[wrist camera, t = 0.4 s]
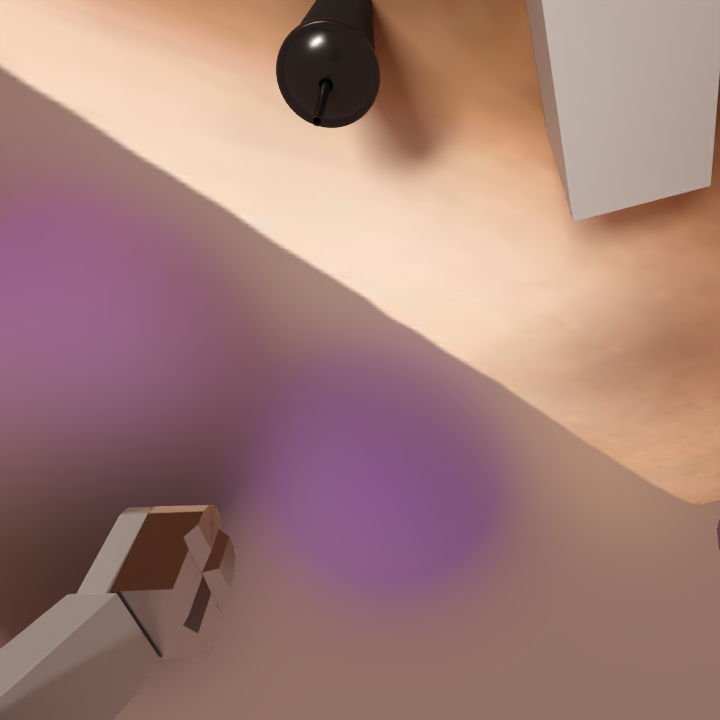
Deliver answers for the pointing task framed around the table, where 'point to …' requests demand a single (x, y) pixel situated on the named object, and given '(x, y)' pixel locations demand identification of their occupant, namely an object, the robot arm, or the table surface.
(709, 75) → the console
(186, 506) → the robot arm
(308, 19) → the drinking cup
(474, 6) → the table surface
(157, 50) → the table surface
